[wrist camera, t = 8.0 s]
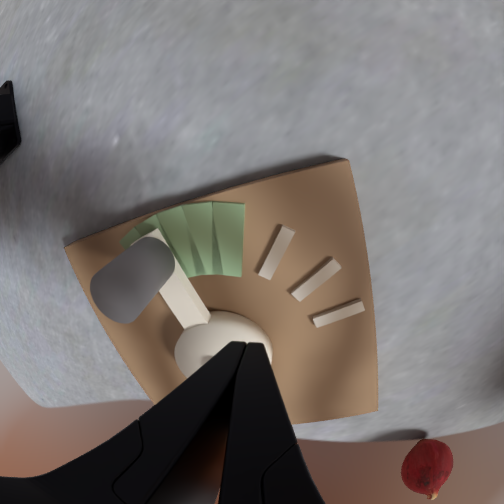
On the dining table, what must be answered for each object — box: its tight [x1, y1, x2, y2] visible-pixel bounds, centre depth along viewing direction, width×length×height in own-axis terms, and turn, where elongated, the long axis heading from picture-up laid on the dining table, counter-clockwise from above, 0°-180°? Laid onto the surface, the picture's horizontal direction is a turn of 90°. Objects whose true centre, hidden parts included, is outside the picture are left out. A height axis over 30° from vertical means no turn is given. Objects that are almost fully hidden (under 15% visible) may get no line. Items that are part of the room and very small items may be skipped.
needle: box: [90, 228, 273, 378], centre depth 15 cm, size 12×6×5 cm, turn 27°
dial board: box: [64, 158, 378, 424], centre depth 19 cm, size 19×19×2 cm
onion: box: [401, 439, 453, 500], centre depth 19 cm, size 6×6×8 cm
